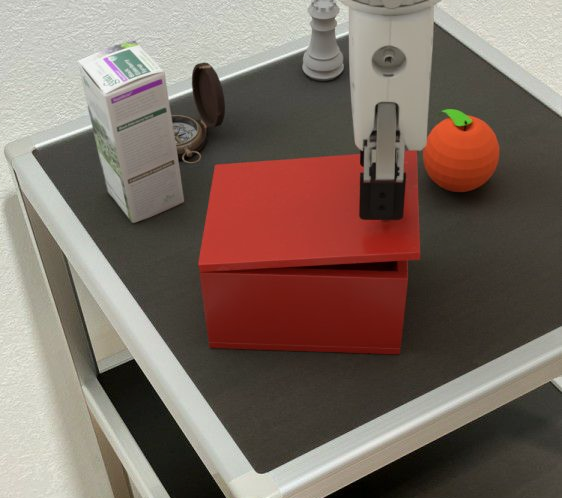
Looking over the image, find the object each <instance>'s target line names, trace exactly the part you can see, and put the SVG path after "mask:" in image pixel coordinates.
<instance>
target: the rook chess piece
mask: <svg viewBox="0 0 562 498" xmlns="http://www.w3.org/2000/svg"><path fill="white" fill-rule="evenodd" d="M340 12H341V11H340V7H339V5H338V4H337V0H311V3H310V5H309V6H308V8H307V13H308V14H309V16H310V17H311V20H310V21H309V26H310V28H311V35H310V36H311V37H310V42H309V44H308V47H306V51H305V52H304V53H303V57H302V67H301V69H302V70H303V72H304V73H305V75H306V76H307V77H309V78H310V79H312V80H315V81H317V82H327V81H332V80H334V79H337V78H338V77H339V76H340V75H341V73H342V72H343V71H344V66H345V64H344V54H343V52H342V51H341V49H340V47H339V45H338V42H337V37H336V36H337V35H336V27H337V26H338V22H337V20H336V17H337V16H338V15H339V13H340Z"/></svg>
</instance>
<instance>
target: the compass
mask: <svg viewBox="0 0 562 498" xmlns="http://www.w3.org/2000/svg"><path fill="white" fill-rule="evenodd" d="M191 88H192V96H193V100H194V104H195V107H196V111H197V112H198V115H199V116H200V119H201V120H200V121H199V120H197V119H195V118H193V117H190V116H186V115H180V114H171V117H172V123H173V130H174V136H175V142H176V149H177V155H178V160H179V159H180V160H181V159H182V162H184V163H186V164H188V165H193V164H194V165H195V164H197V163H199V162H200V161H201V160H202V155H201V153H200V151H201V149H202V148H204V147H205V144H206V143H207V129H209V128H210V129H212V128H213V129H214V128H217V127H220V126H222V124H223V122H224V120H225V116H226V115H225V114H226V99H225V95H224V89H223V86H222V82H221V80H220V77H219V75H218V73H217V71H216V70H215V68H214V67H213V66H212V64H210V63H208V62H205V61H204V62H199V63H197V64H195V65H194V67H193V69H192V74H191ZM195 154H197V155H198V156H199V157H198V159H197V160H195V161H187V160H186V159H185V158H191V157H193V155H195Z"/></svg>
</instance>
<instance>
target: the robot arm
mask: <svg viewBox="0 0 562 498" xmlns="http://www.w3.org/2000/svg"><path fill="white" fill-rule="evenodd" d="M441 1H442V0H338V2H340V3H341V4H343V5H344V6H346V7H348V64H349V87H350V102H351V114H352V115H351V117H352V128H353V137H354V145H355V146H356V147H357V149H359V154H360V165H361V166H362V167H364V173H360V201H359V217H360V218H361V219H363V220H400V219H402V218H403V213H404V199H405V185H406V173H403V172H404V151H406V149H405V148H407V151H412V150H417V152H421V151H423V150H424V147H425V146H426V145H427V137H428V123H429V122H428V121H429V108H430V107H429V106H430V92H431V79H432V78H431V77H432V64H433V63H432V62H433V50H434V49H433V47H434V45H433V44H434V27H435V26H434V25H435V24H434V23H435V6H436V5H437V4H438V3H440V2H441ZM376 132H377V135H373V134H374V133H376ZM372 150H376V162H372V164H371V161H372Z"/></svg>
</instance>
